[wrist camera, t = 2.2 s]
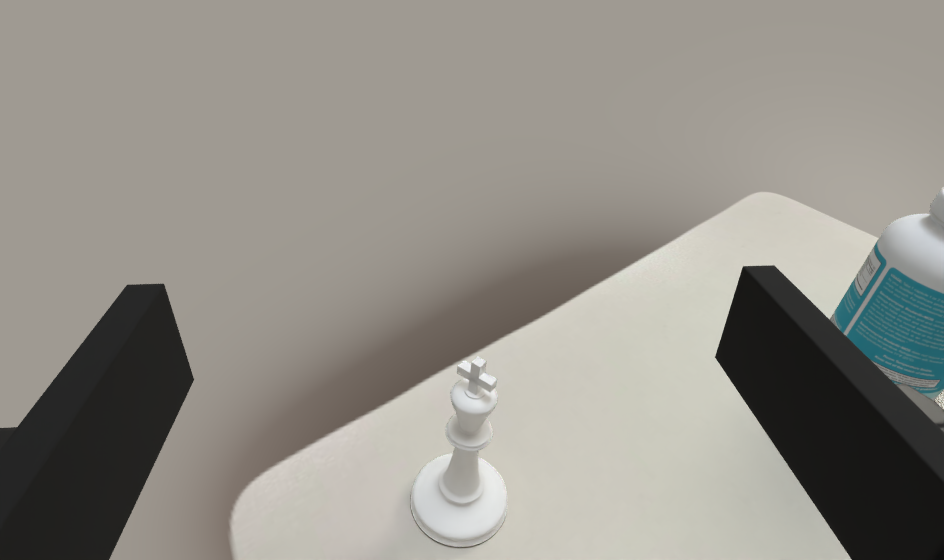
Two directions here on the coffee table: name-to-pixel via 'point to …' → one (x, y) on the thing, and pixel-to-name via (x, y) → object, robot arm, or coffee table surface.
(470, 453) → the chess piece
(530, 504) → the coffee table surface
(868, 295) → the pill bottle
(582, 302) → the coffee table surface
